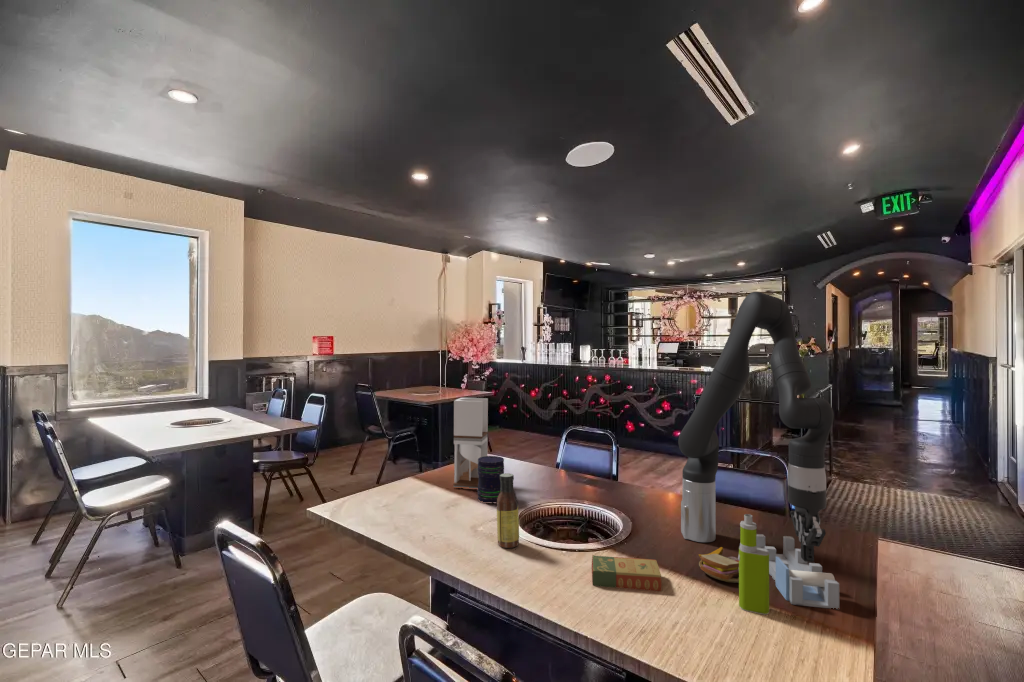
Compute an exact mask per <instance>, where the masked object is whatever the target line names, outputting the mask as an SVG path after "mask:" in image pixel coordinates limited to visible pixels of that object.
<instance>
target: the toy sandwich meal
mask: <svg viewBox="0 0 1024 682" xmlns="http://www.w3.org/2000/svg"><path fill="white" fill-rule="evenodd" d="M723 551H724V547H723V546H720V547H719V548H717V549H715V550H713V551H711V552H710V553H706V554H699V553H698V557H699V558H700V561H699V562H698V566H699V568H700V570H702V571H703V573H704V574H706V575H707V576H708V577H711V578H712V579H715V580H718V581H722V582H726V583H738V584H739V559H738V557H735V556H727V557H726V556H723V553H724V552H723Z"/></svg>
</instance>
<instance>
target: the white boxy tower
mask: <svg viewBox="0 0 1024 682" xmlns="http://www.w3.org/2000/svg"><path fill="white" fill-rule="evenodd" d="M488 411H489V398H486V397H485V398H483V397H480V398H479V397H478V398H477V397H459V398H457V399H454V401H453V445H454V464H453V465H454V467H453V469H454V473H453V475H454V477H453V479H454V482H453V485H452V486H453V487H469V488H478V480H479V475H478V458H480V457H485V456H488V444H489V443H488V442H489V440H488V432H489V431H488V430H489V428H488V424H489V416H488V414H489V413H488Z"/></svg>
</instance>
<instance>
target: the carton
mask: <svg viewBox="0 0 1024 682" xmlns="http://www.w3.org/2000/svg"><path fill="white" fill-rule="evenodd" d="M591 581H592V586H594V587H602V588H603V587H606V588H617V589H628V590H629V589H631V590H642V591H651V592H653V591H654V592H661V593H662V588H663V587H662V586H663V585H662V584H663V583H662V582H663V581H662V573H661V570H660V567H659V564H658V562H657V559H650V558H637V557H636V558H633V557H622V556H621V557H619V556H603V555H592V557H591Z"/></svg>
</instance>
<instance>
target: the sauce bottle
mask: <svg viewBox="0 0 1024 682" xmlns="http://www.w3.org/2000/svg"><path fill="white" fill-rule="evenodd" d="M514 479H515V477H514V474H513V473H509V472H508V473H505V472H504V474H501V475H500V481H501V488H500V490H501V491H500V494H499V495H498V498H497V503H496V526H497V528H496V530H497V532H496V533H497V537H496V538H497V544H498V546H499V547H501V548H503V549H513V548H515V547H517V546H518V545H519V542H520V528H519V527H520V519H519V517H520V515H519V502H518V499H517V495H516V492H515V490H514Z"/></svg>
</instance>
